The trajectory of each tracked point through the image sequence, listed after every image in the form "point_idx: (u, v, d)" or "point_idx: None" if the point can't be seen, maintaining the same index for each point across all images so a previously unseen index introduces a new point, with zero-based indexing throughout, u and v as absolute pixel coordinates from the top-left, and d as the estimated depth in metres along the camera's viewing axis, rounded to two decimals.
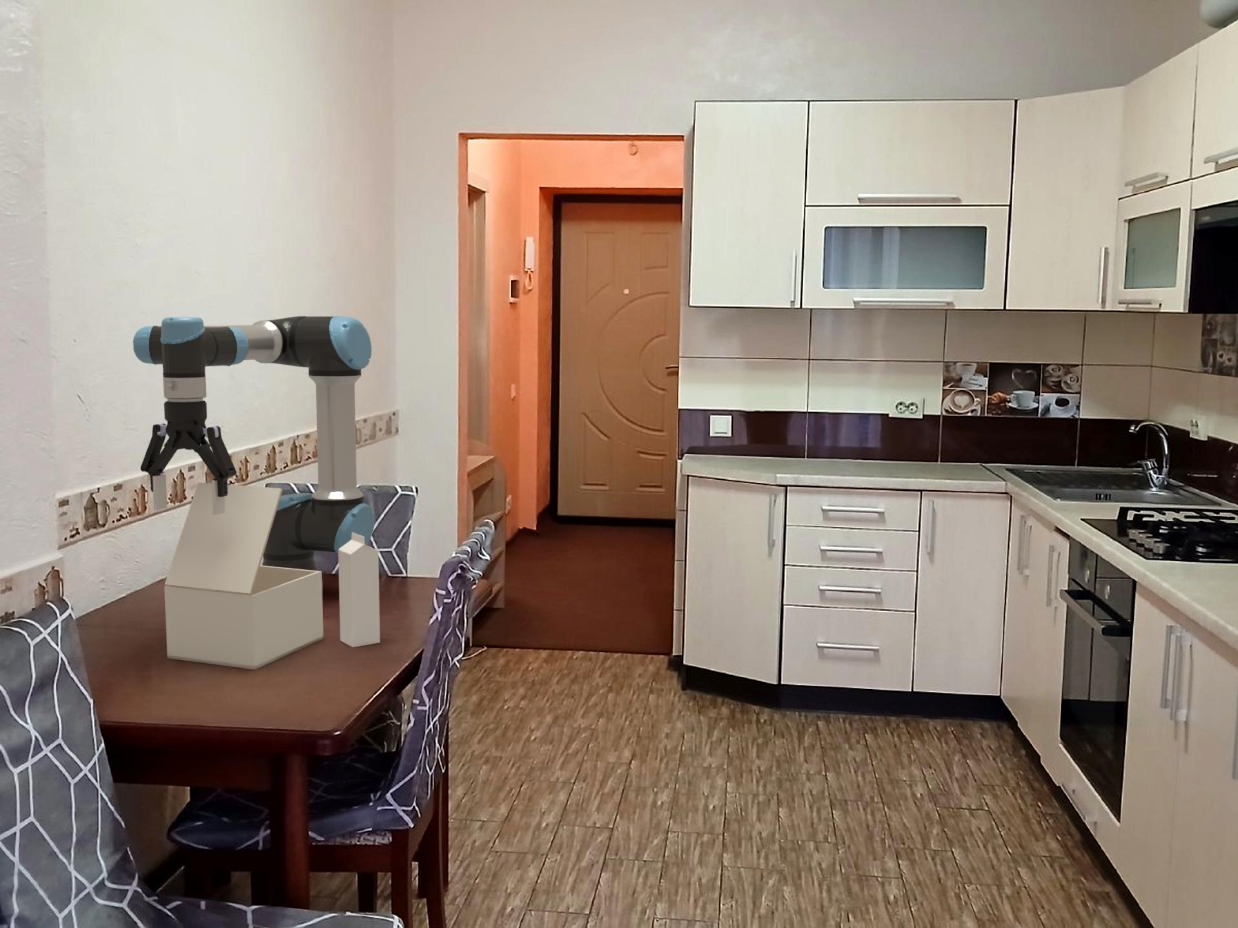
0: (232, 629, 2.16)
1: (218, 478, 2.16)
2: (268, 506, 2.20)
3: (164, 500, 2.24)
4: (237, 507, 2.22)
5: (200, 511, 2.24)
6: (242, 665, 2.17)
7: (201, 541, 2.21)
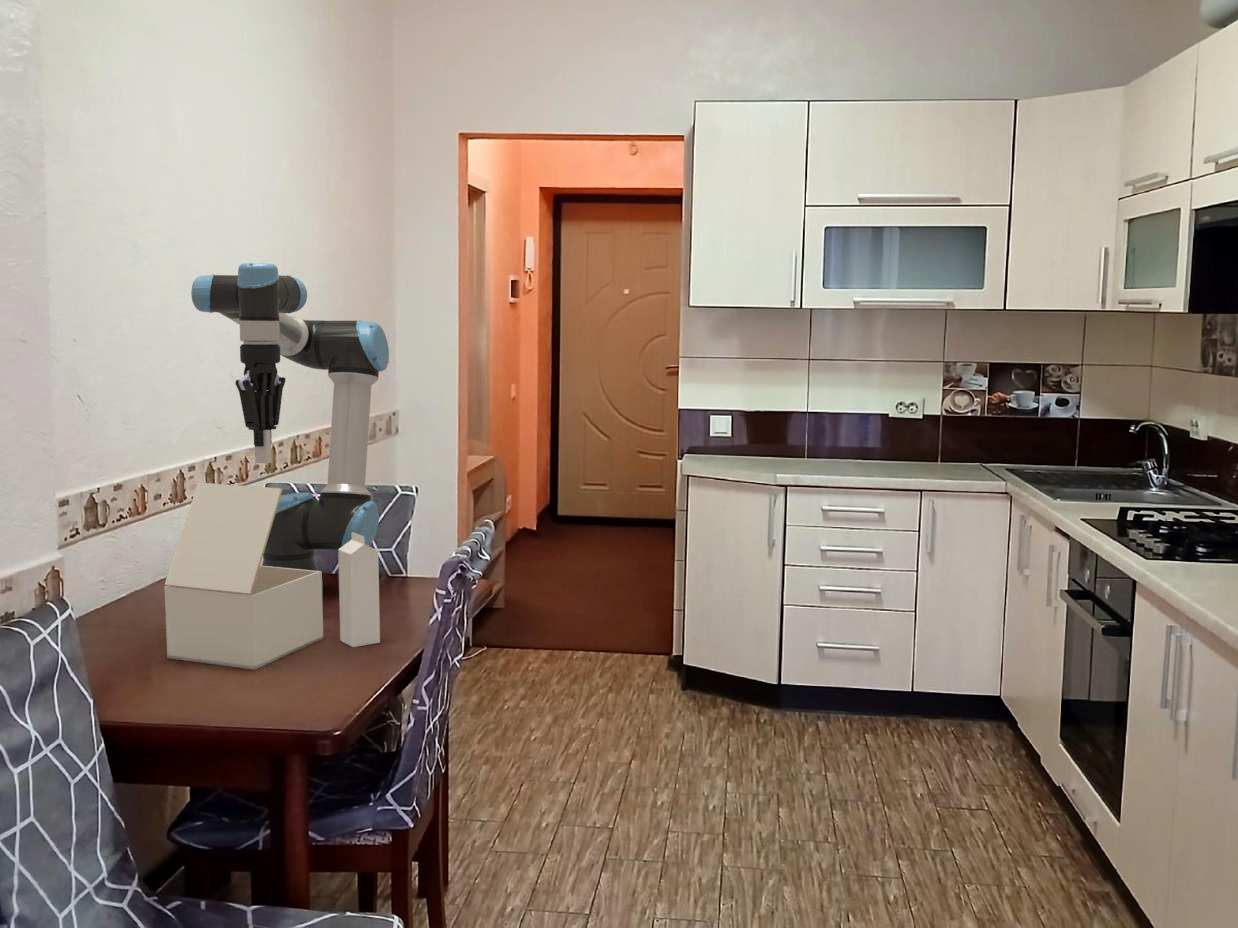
0: (232, 629, 2.16)
1: (250, 429, 2.29)
2: (268, 506, 2.20)
3: None
4: (237, 507, 2.22)
5: (200, 511, 2.24)
6: (242, 665, 2.17)
7: (201, 541, 2.21)
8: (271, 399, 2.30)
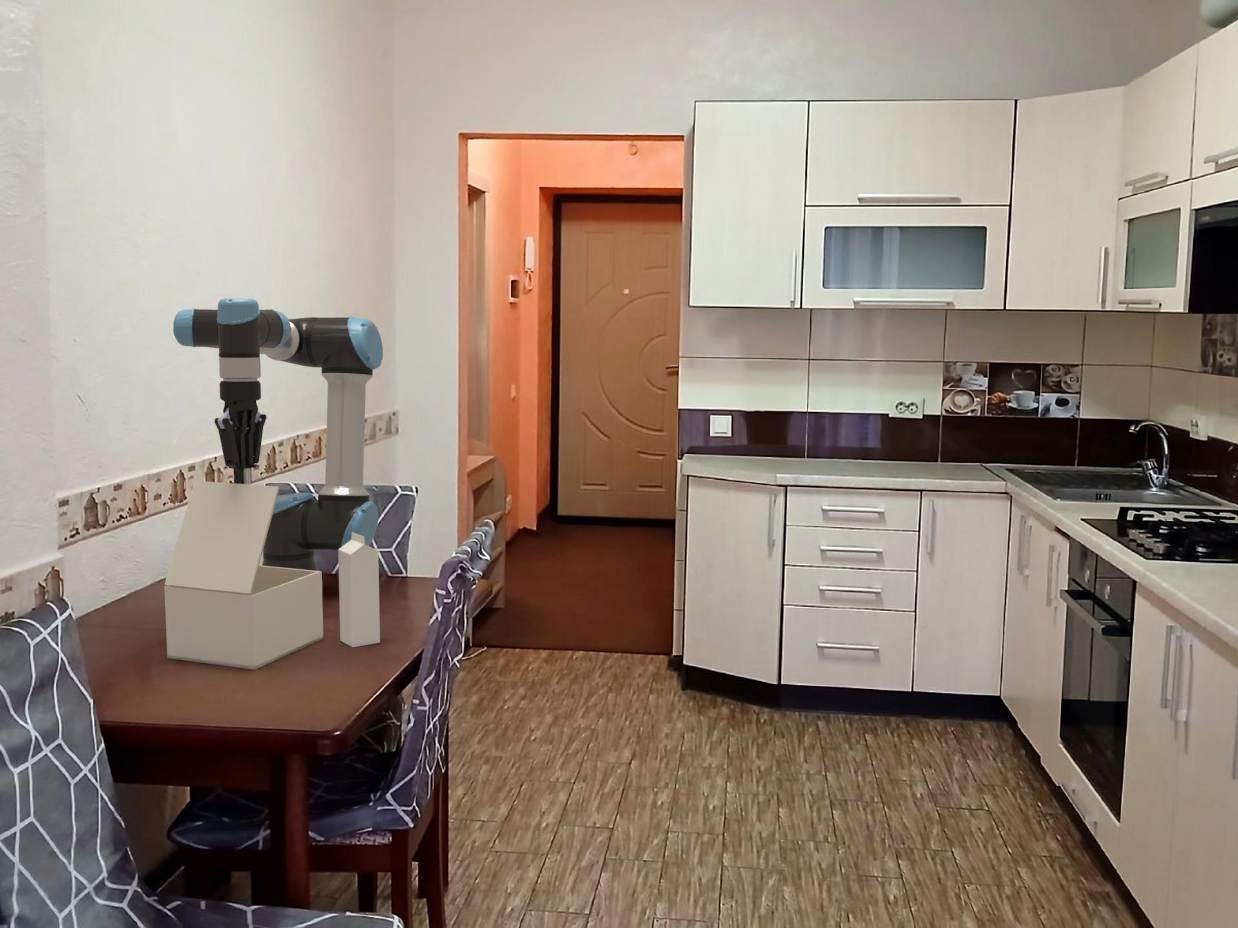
0: (232, 629, 2.16)
1: (230, 467, 2.24)
2: (265, 505, 2.19)
3: None
4: (234, 506, 2.21)
5: (198, 510, 2.24)
6: (242, 665, 2.17)
7: (199, 540, 2.21)
8: (251, 437, 2.25)
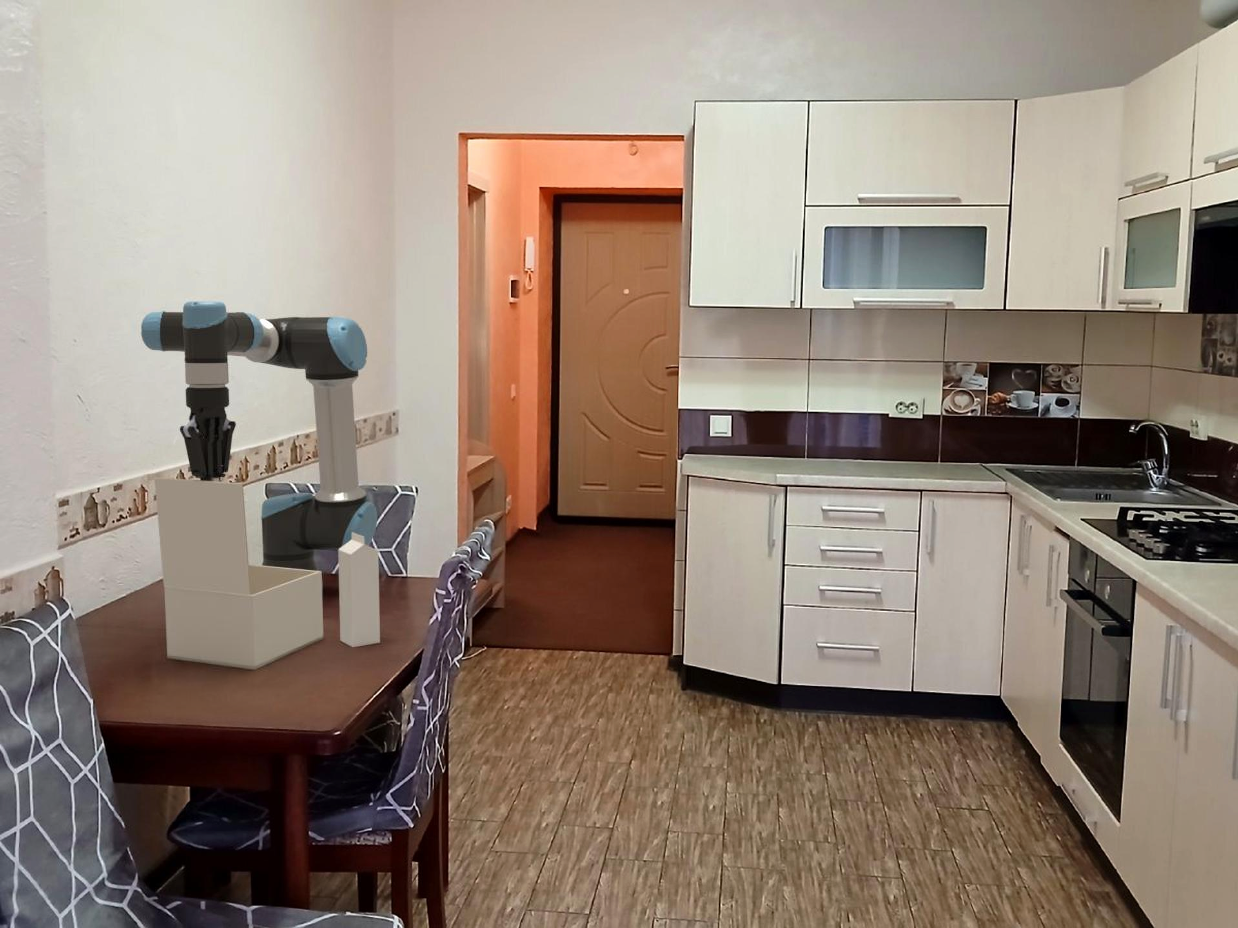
0: (232, 629, 2.16)
1: (197, 477, 2.15)
2: (234, 504, 2.11)
3: None
4: (203, 505, 2.13)
5: (169, 510, 2.16)
6: (242, 665, 2.17)
7: (182, 541, 2.16)
8: (220, 445, 2.16)
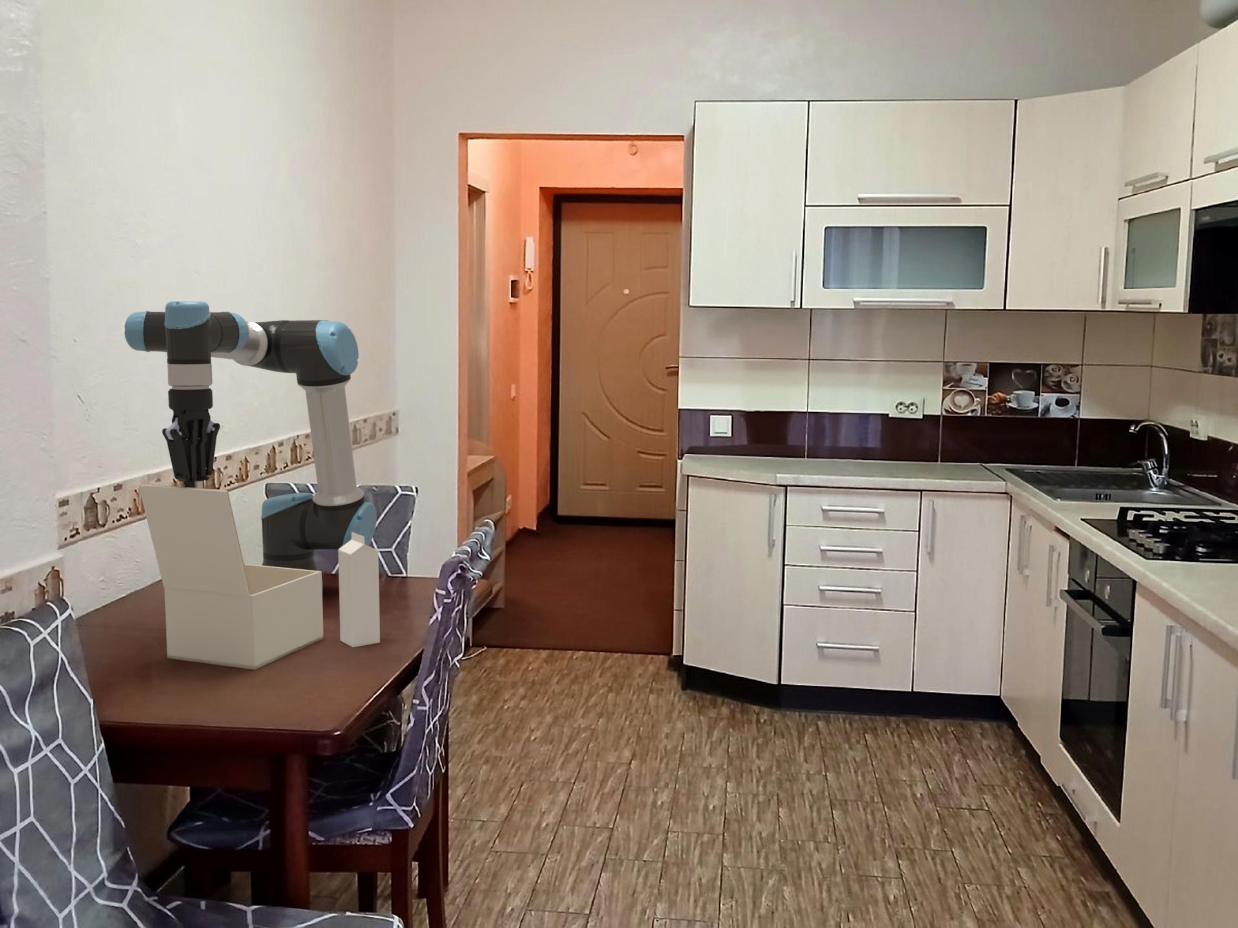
0: (232, 629, 2.16)
1: (180, 480, 2.11)
2: (222, 510, 2.08)
3: None
4: (191, 511, 2.10)
5: (157, 515, 2.13)
6: (242, 665, 2.17)
7: (175, 545, 2.15)
8: (203, 448, 2.12)
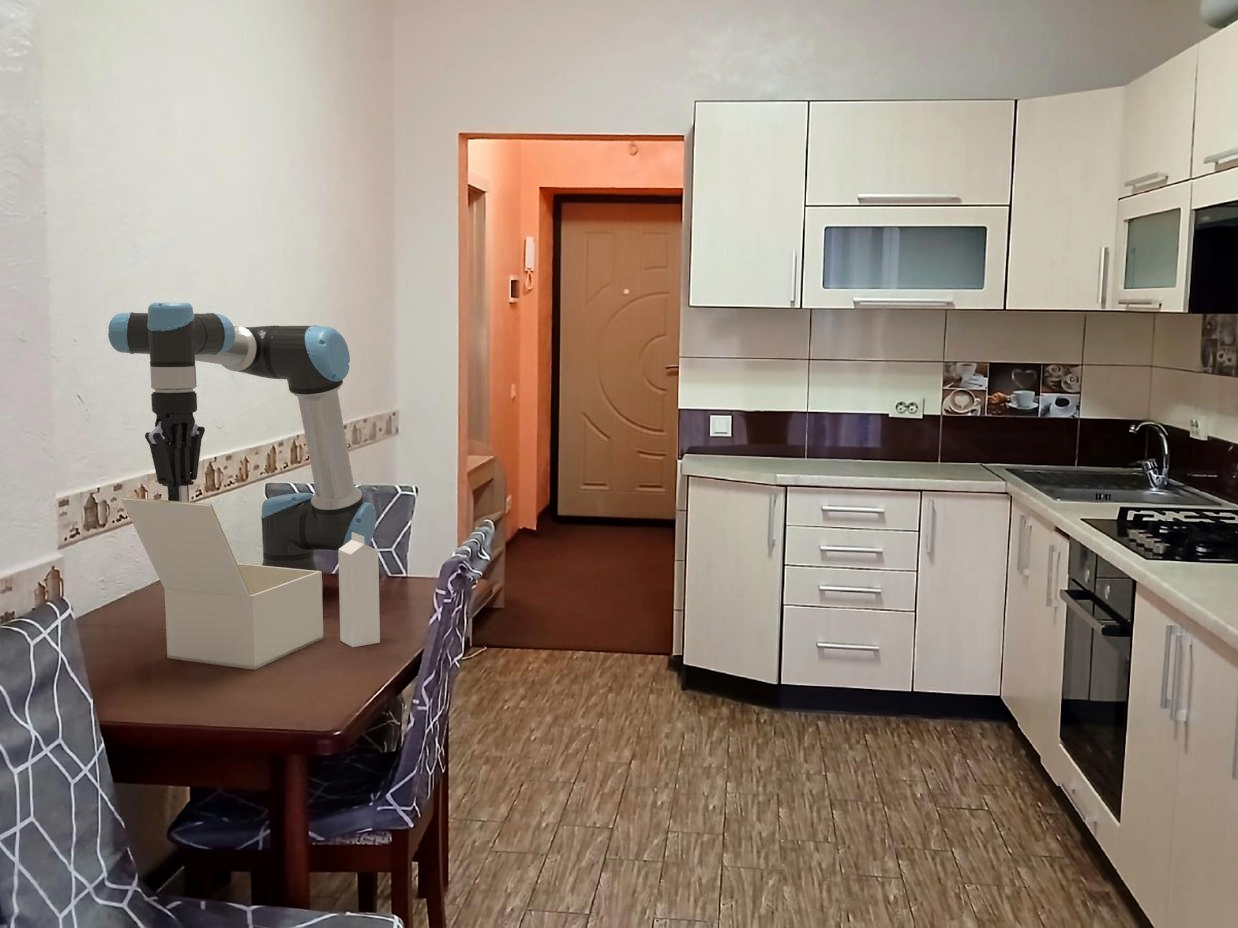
0: (232, 629, 2.16)
1: (164, 485, 2.07)
2: (209, 522, 2.05)
3: None
4: (178, 523, 2.07)
5: (145, 526, 2.11)
6: (242, 665, 2.17)
7: (168, 552, 2.13)
8: (187, 452, 2.08)
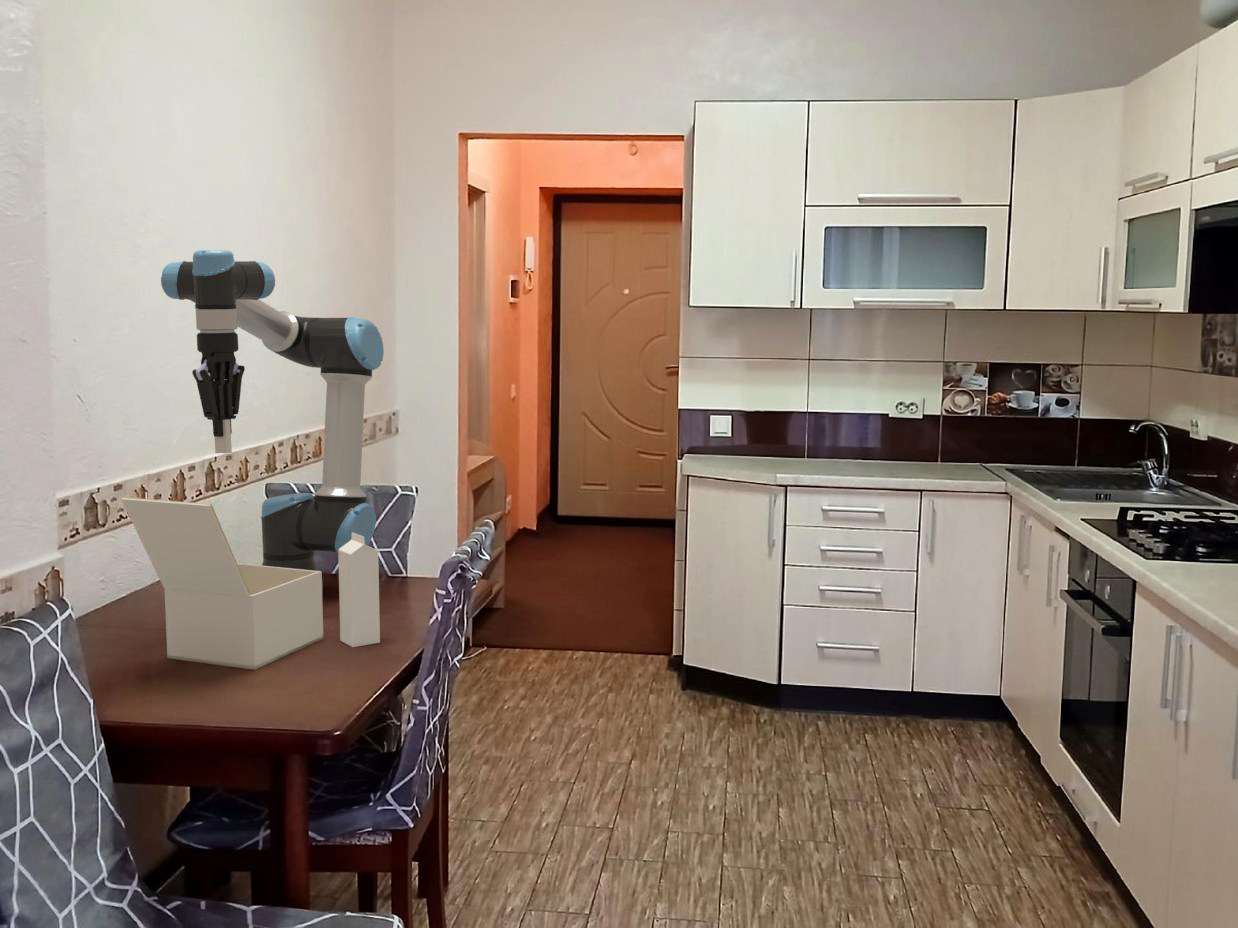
0: (232, 629, 2.16)
1: (209, 419, 2.26)
2: (209, 522, 2.05)
3: None
4: (178, 523, 2.07)
5: (145, 526, 2.11)
6: (242, 665, 2.17)
7: (168, 552, 2.13)
8: (230, 388, 2.27)
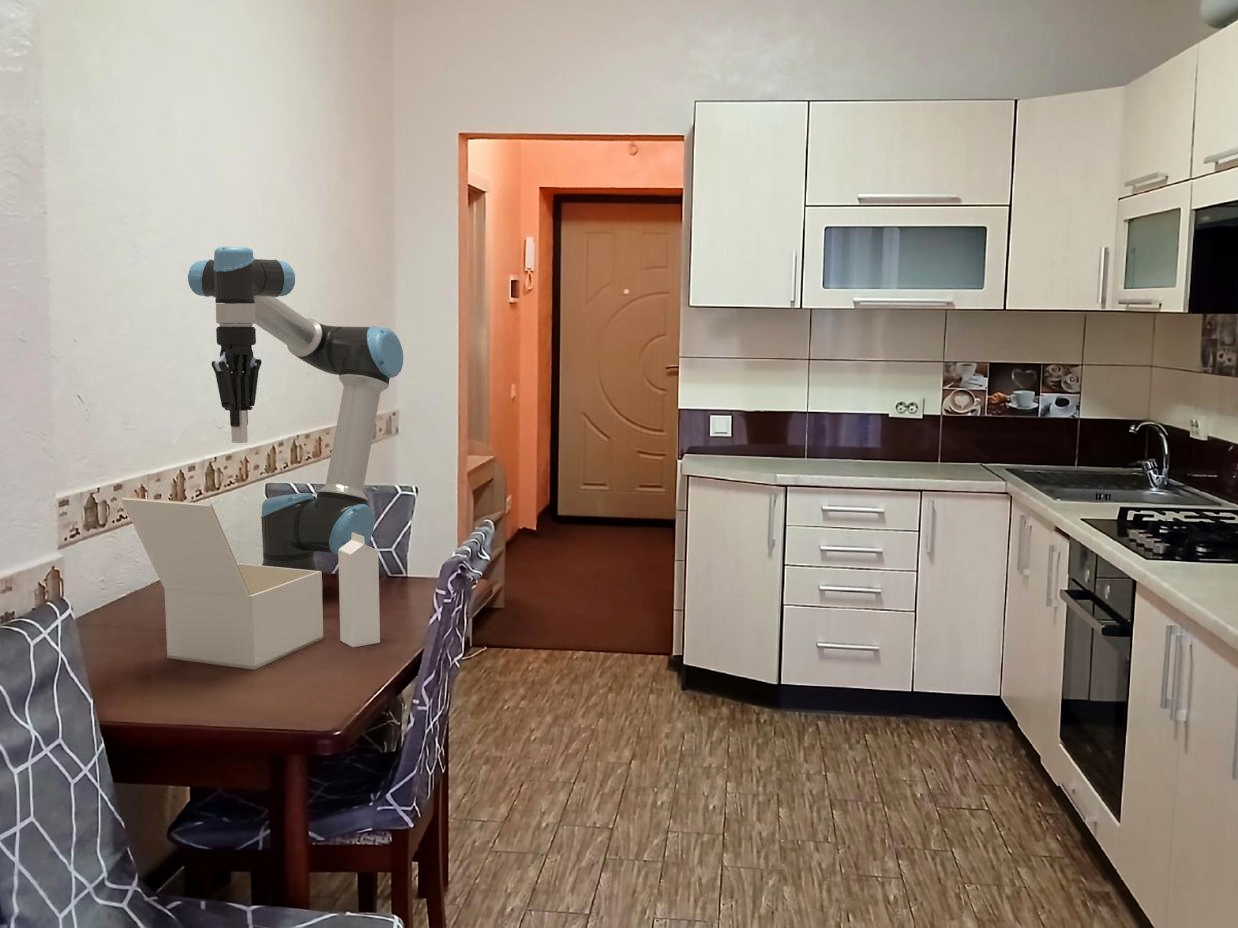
0: (232, 629, 2.16)
1: (226, 409, 2.34)
2: (209, 522, 2.05)
3: None
4: (178, 523, 2.07)
5: (145, 526, 2.11)
6: (242, 665, 2.17)
7: (168, 552, 2.13)
8: (247, 380, 2.36)
